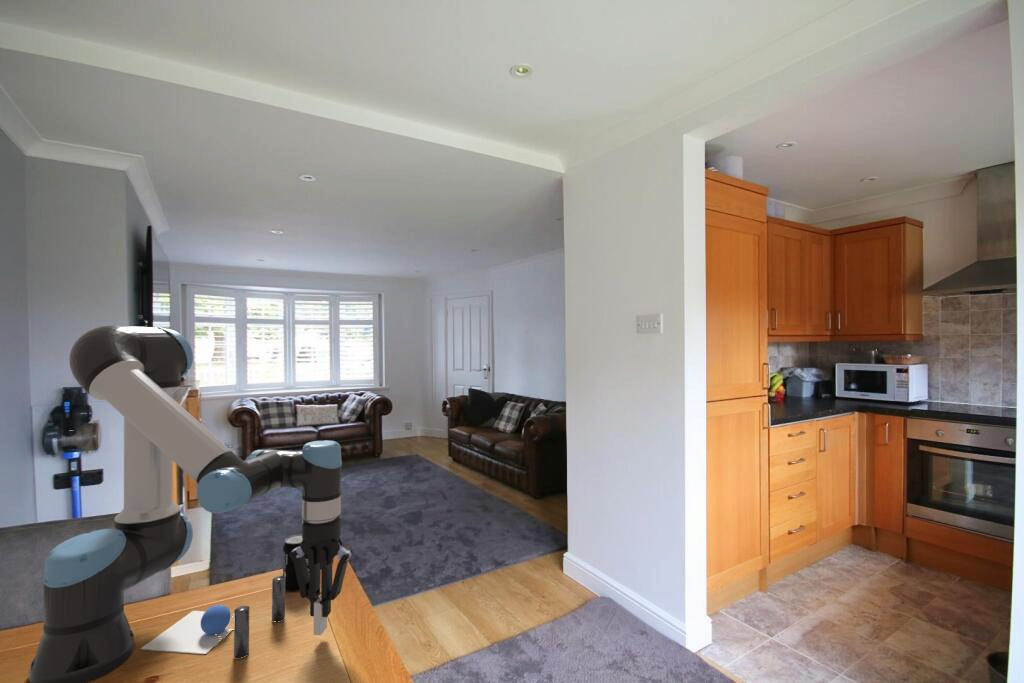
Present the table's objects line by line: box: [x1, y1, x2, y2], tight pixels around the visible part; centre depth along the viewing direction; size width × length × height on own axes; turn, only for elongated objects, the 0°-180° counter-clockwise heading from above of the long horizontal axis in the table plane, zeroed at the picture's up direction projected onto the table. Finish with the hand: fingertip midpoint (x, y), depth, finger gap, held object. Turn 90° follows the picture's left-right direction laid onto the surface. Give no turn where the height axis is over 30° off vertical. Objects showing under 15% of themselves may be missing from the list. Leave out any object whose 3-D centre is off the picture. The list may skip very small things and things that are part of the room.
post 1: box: [233, 605, 250, 659], centre depth 96 cm, size 3×3×9 cm
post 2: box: [271, 575, 286, 623], centre depth 109 cm, size 3×3×9 cm
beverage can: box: [282, 533, 309, 592], centre depth 124 cm, size 7×7×12 cm
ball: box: [201, 604, 232, 635], centre depth 104 cm, size 6×6×6 cm
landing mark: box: [140, 610, 234, 655], centre depth 104 cm, size 14×14×1 cm
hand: (320, 631), depth 101 cm, fingers closed
